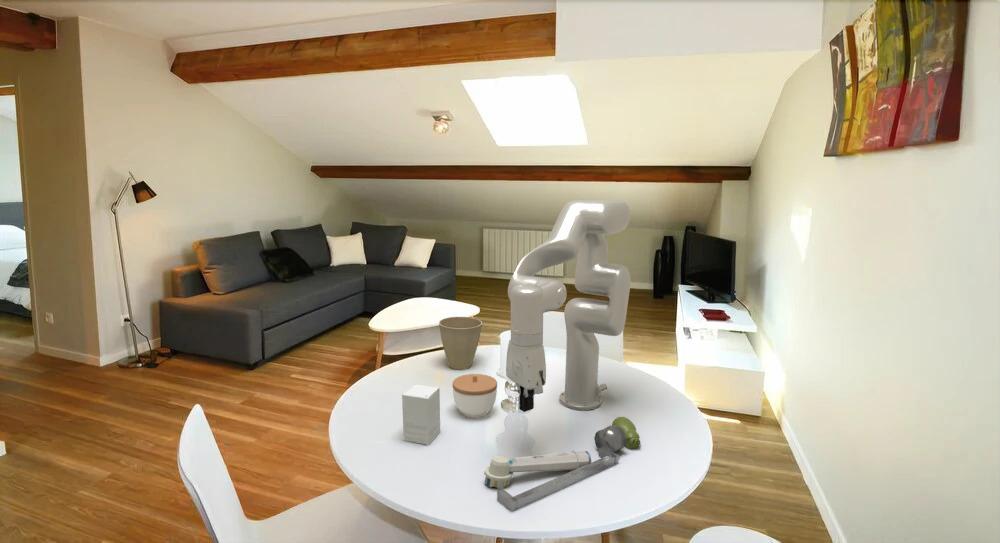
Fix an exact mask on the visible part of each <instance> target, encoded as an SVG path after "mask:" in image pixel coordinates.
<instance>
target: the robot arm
mask: <svg viewBox="0 0 1000 543" xmlns="http://www.w3.org/2000/svg"><path fill="white" fill-rule="evenodd" d="M630 219H631V209H630V207H629V205H628V204H627V203H626V202H625V201H623V200H607V199H592V198H590V199H589V198H587V199H586V198H584V199H577V200H571V201H568V202H567V203H565V204H564V205H563V206H562V209H561V210H560V212H559V215H558V217H557V219H556V221H555V223H554V225H553V228H552V230H551V232H550V234H549V236H548V238H547V240H546V241H545V242H544V243H542V244H540V245H538V246H536V247H535V248H534V249H532V250H531V251H529V252H528V253H527V254H526V255H524V256H523V257H522V258H521V259H520V260H519V262H518V264H517V265H516V267H515V268H514V272H513V273H512V276H511V277H510V280H509V283H508V287H507V296H508V299H509V301H510V339H509V342H508V345H507V350H506V351H507V352H506V361H505V362H506V363H505V364H506V365H505V374H506V378H508V380H510V381H512V382H513V383H515V385H516V387H517V388H516V389H517V393H518V397H519V398H518V399H519V400H518V401H519V402H518V403H519V405H518V407H519V410H520V411H522V412H523V413H526V412H529V411H531V410H534V408H535V407H534V406H535V405H534V404H535V403H534V401H535V397H534V396H535V395H541V394H543V393H544V389H543V388H544V387H543V386H545V385H546V380H547V364H546V353H545V347H544V345H543V344H544V313H549V312H554V311H557V310H559V309H560V308H561V307H562V306H563V305H564V303H566V299H567V296H568V291H567V288H566V285H565V284H564V283H563V282H561V281H560V280H557V279H553V278H547V277H546V278H544V277H540V276H539V277H538V276H535V275H537V274H538V273H539V272H540V271H541V272H542V270H545V269H547V268H551V267H555V266H558V265H562V264H565V263H568V262H570V261H573V260H574V259H575V258H576V257H577V259H576V265H575V274H574V288H575V289H576V290H577V291H578V292H580V293H584V294H589V295H594V296H602V297H608V298H609V301H606V300H601V299H600V300H599V299H594V298H587V297H574V298H572V299H570V300H568V301H567V303H566V304H565V307H564V314H563V316H564V323H565V324H564V325H565V333H566V348H565V349H566V352H565V374H564V375H565V377H564V379H565V380H564V381H565V382H564V391H562V392H560V394H559V397H558V401H559V402H560V403H561V404H562V405H563V406H564V407H567V408H569V409H572V410H573V409H574V410H578V411H579V410H580V411H588V410H593V409H597V408H599V407H600V406H601V405H602V401H603V399H602V396H600V393H601V392H603V391H607V390H608V384H607V383H603V384H599V383H598V379H599V377H598V376H599V359H600V358H599V355H600V346H599V345H600V344H599V341H598V338H597V337H596V335H595V334H597V335H604V336H608V337H609V336H610V337H617V336H620V335H621V334H622V333H623V331H624V328H625V324H626V320H627V313H628V306H629V298H630V297H629V296H630V292H631V290H630V289H631V274H630V271H629V269H628V267H626V266H624V265H622V264H620V263H610V262H608V253H609V244H608V241H607V239H606V237H605V235H612V234H613V235H614V234H618V233H620V232H623V231H624V230H625V229H626V228H627V227H628V225H629V223H630Z"/></svg>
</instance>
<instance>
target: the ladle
mask: <svg viewBox="0 0 1000 543" xmlns="http://www.w3.org/2000/svg"><path fill="white" fill-rule="evenodd" d="M593 439H594V444H595V445H594V446H595V448H597V450H598V457H599V459H596V460H594V461H591V463H589V464H587V465H585V466H583V467H580V468H578V469H576V470H570V471H569V472H567V473H564V474H562V475H559V476H558V477H556V478H553V479H550V480H549V481H545V482H544V483H541V484H539V485H538V486H535V487H532V488H530V489H527V490H526V491H523V492H521V493H519V494H516V495H514V496H513V495H511V494H510V493H509V492H508V491H507V490H505V488H502V489H499V490H497V491H496V500H497V502H499V503H500V504H501V505H503V506H504V507H505V508H506V509H507V510H508V511H510V512H511V513H513V512H514V511H517V510H519V509H520V508H523V507H525V506H528V505H529V504H532V503H534V502H536V501H539V500H541V499H543V498H545V497H547V496H550V495H551V494H554V493H557V492H559V491H561V490H562V489H565V488H567V487H569V486H572V485H573V484H576V483H578V482H580V481H583V480H585V479H587V478H588V477H589V478H590V477H591V476H593V475H595V474H598V473H600V472H601V471H604V470H606V469H608V468H611V467H612V466H613V467H614V466H616V465H617V464H619V459H620V458H619V457H620V456H619V454H617V453H616V452H618V451H621V450H623V449H625V448H626V447H625V446H626V443H627V439H626V435H625V433H624V431H623V430H622V429H621V428H620V427H619V426H617V425H612V424H611V425H610V426H607V427H605V428H602V429H600V430H597V431H596V432H595V434H594V438H593Z"/></svg>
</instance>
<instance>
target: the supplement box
mask: <svg viewBox="0 0 1000 543" xmlns="http://www.w3.org/2000/svg"><path fill="white" fill-rule="evenodd" d="M440 394H441V393H440V387H437V386H430V385H429V386H428V385H422V384H417V383H415V384H414V385H412V386H411V387H410V388H409V389H407V390H406V391H405V392H403V393H402V394H401V400H402V425H403V426H402V427H403V428H402V430H403V431H402V432H403V441H406V442H412V443H417V444H423V445H427V446H428V445H430V444H432V442H433V441H434V440H435V439H436V438H437V437H438V436H439V434H440V433H441V403H440V402H441V400H440V399H441V398H440V396H441V395H440Z"/></svg>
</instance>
